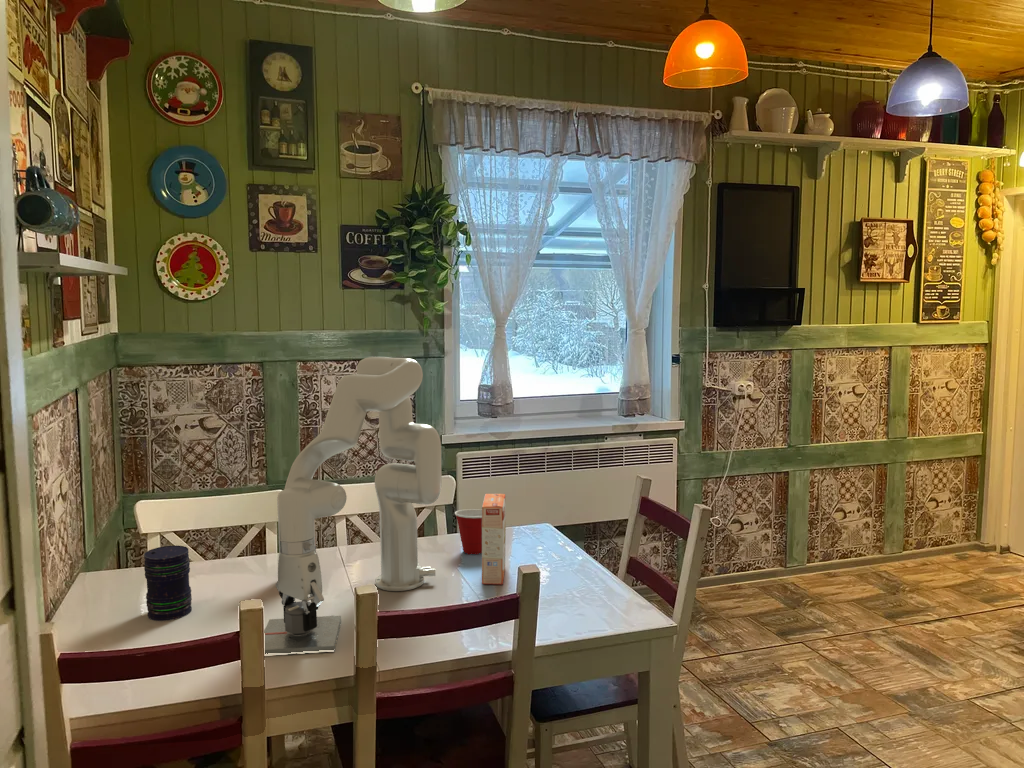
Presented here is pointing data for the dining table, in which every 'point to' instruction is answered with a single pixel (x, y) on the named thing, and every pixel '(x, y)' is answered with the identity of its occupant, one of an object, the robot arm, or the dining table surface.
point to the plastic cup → (470, 530)
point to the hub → (302, 636)
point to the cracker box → (493, 538)
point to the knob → (295, 618)
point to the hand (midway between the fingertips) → (300, 624)
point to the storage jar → (167, 583)
